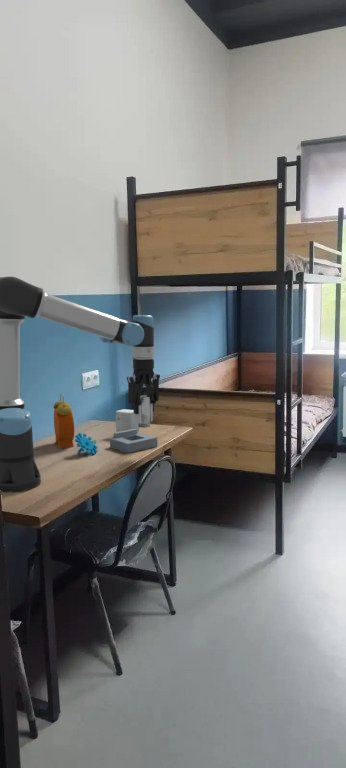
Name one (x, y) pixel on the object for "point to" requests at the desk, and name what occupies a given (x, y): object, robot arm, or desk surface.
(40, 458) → the desk surface
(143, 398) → the bushing
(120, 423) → the small box
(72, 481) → the desk surface
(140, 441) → the frame
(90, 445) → the gear
